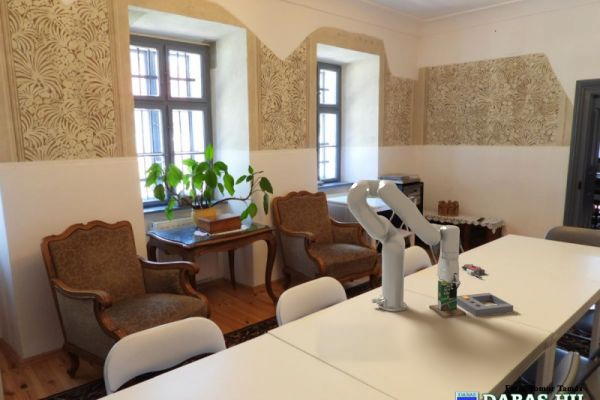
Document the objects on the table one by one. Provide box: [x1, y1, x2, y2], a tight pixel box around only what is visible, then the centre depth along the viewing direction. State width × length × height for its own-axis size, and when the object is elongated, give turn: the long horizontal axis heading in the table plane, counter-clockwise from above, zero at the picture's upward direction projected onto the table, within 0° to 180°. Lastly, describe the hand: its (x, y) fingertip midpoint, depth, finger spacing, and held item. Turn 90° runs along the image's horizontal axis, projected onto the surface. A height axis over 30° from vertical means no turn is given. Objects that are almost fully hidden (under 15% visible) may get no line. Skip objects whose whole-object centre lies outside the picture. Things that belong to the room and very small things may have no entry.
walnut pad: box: [428, 304, 467, 319], centre depth 183 cm, size 11×11×1 cm
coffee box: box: [437, 279, 458, 311], centre depth 182 cm, size 8×3×13 cm, turn 103°
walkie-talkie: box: [461, 263, 486, 279], centre depth 234 cm, size 9×4×20 cm
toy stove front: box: [457, 292, 514, 317], centre depth 187 cm, size 18×16×4 cm
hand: (447, 294), depth 182 cm, fingers open, 7 cm apart
